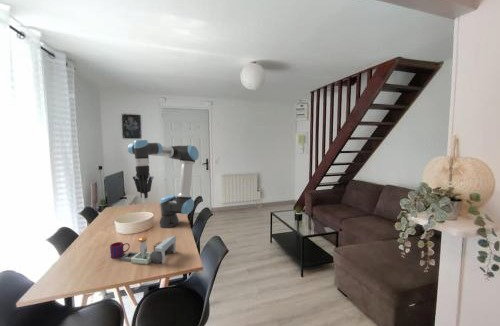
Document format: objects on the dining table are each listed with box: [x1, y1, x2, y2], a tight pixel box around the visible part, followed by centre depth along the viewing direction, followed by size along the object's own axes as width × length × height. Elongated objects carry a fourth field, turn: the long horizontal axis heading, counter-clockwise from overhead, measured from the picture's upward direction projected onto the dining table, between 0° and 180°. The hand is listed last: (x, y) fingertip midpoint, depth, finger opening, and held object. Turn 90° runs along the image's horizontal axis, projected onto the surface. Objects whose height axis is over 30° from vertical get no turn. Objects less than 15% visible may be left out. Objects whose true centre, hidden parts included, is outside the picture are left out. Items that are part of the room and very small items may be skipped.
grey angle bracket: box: [150, 234, 177, 264], centre depth 133 cm, size 14×8×10 cm, turn 169°
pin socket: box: [120, 251, 139, 262], centre depth 133 cm, size 7×7×2 cm
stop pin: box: [137, 236, 148, 259], centre depth 130 cm, size 4×4×12 cm
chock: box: [153, 240, 163, 251], centre depth 140 cm, size 6×4×5 cm
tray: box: [130, 251, 152, 265], centre depth 130 cm, size 8×10×2 cm
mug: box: [109, 241, 131, 259], centre depth 136 cm, size 7×10×7 cm
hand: (144, 203), depth 142 cm, fingers closed
